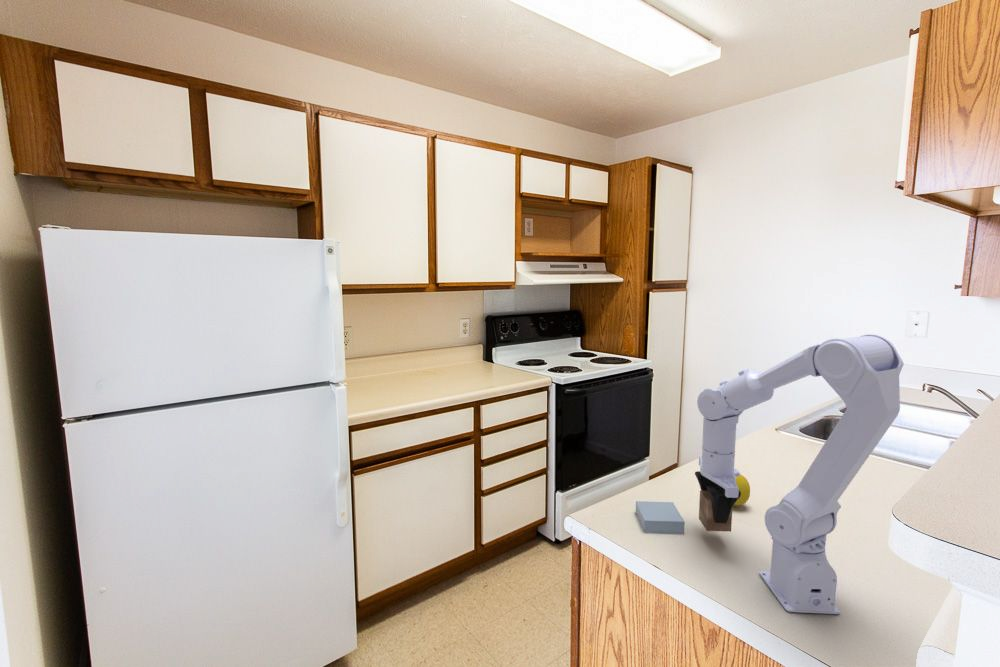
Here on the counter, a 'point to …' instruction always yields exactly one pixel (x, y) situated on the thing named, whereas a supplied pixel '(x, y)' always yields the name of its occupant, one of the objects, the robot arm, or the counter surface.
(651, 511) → the blue-gray block
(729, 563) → the counter surface
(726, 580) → the counter surface
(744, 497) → the lemon
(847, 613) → the counter surface
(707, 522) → the walnut block
